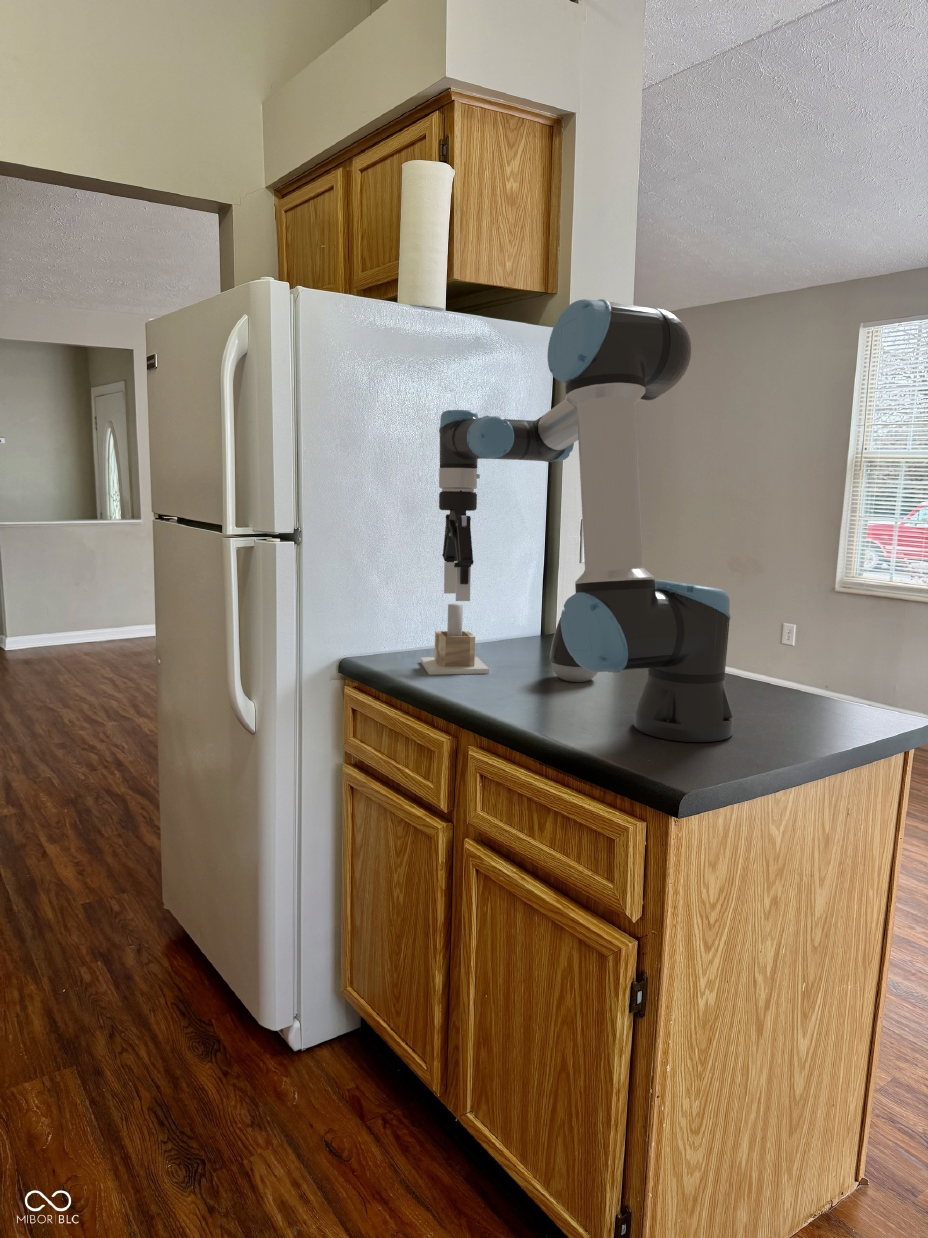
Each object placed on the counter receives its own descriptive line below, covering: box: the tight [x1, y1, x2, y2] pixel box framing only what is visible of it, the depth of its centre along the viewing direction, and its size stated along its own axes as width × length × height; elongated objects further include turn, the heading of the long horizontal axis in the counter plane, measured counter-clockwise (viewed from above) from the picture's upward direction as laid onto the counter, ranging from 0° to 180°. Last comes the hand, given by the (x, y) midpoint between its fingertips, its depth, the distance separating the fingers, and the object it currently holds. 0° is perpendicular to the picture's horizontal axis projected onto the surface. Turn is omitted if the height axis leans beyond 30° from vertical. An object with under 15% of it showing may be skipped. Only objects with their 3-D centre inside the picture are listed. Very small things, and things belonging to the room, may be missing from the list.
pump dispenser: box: [549, 616, 599, 683], centre depth 171 cm, size 10×10×15 cm
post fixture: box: [420, 603, 490, 676], centre depth 179 cm, size 12×12×13 cm
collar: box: [434, 630, 476, 667], centre depth 179 cm, size 7×7×6 cm
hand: (456, 597), depth 177 cm, fingers open, 13 cm apart
